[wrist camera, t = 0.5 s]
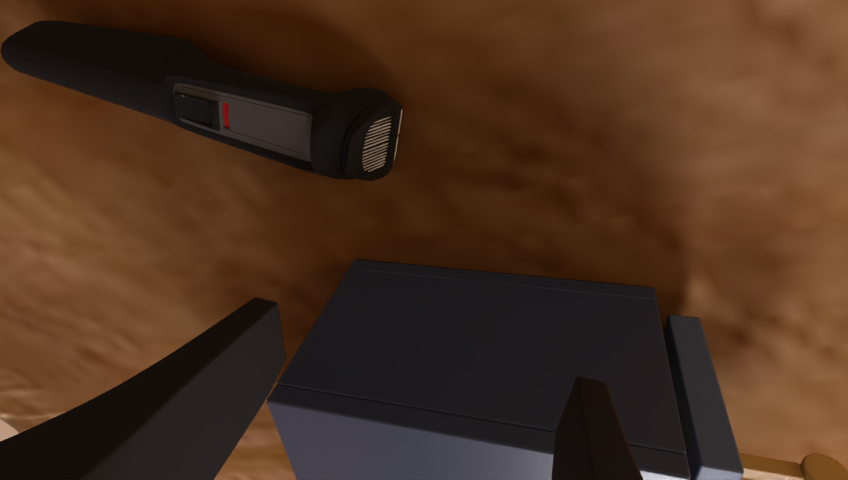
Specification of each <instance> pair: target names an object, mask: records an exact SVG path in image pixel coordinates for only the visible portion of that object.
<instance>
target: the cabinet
mask: <svg viewBox="0 0 848 480" xmlns="http://www.w3.org/2000/svg"><path fill="white" fill-rule="evenodd" d="M577 376H581V377H585V378H589V379H593V380H598V381H602V382H606V384H607V385H608V386H609V389H610V392H611V395H612V398H613V402H614V405H615V408H616V411H617V414H618V416H619V419H620V422H621V425H622V428H623V430H624V433H625V436H626V438H627V441H628V444H629V446H630V449H631V451H632V454H633V456H634V459H635V461H636V463H637V466H638V468H639V470H640V473H641V475H642V477H643V480H690V479H691V475H690V470H689V465H688V460H687V456H686V448H685V443H684V438H683V432H682V427H681V422H680V417H679V412H678V407H677V402H676V396H675V391H674V386H673V381H672V376H671V371H670V366H669V360H668V355H667V350H666V345H665V340H664V335H663V330H662V324H661V319H660V314H659V309H658V304H657V299H656V294H655V289H654V288H652V287H641V286H630V285H620V284H609V283H599V282H588V281H578V280H567V279H557V278H546V277H536V276H525V275H515V274H504V273H494V272H483V271H473V270H462V269H452V268H441V267H431V266H420V265H410V264H399V263H389V262H378V261H368V260H357V259H355V260H354V261H353V263H352V264H351V266H350V267H349V269H348V271H347V272H346V274H345V275H344V277H343V279H342V280H341V282H340V283H339V285H338V287H337V288H336V290H335V291H334V293H333V295H332V296H331V298H330V299H329V301H328V303H327V304H326V306H325V307H324V309H323V311H322V312H321V314H320V315H319V317H318V319H317V320H316V322H315V323H314V325H313V327H312V328H311V330H310V331H309V333H308V335H307V336H306V338H305V339H304V341H303V343H302V344H301V346H300V347H299V349H298V351H297V352H296V354H295V355H294V357H293V359H292V360H291V362H290V363H289V365H288V367H287V368H286V370H285V371H284V373H283V375H282V376H281V378H280V379H279V381H278V383H277V384H278V385H276V386H275V388H274V390H273V391H272V393H271V394H270V396H269V398H268V399H267V404H268V407H269V409H270V412H271V415H272V417H273V420H274V422H275V425H276V427H277V430H278V433H279V435H280V438H281V440H282V443H283V445H284V448H285V451H286V453H287V456H288V458H289V461H290V463H291V466H292V469H293V471H294V474H295V476H296V479H297V480H552V466H553V455H554V445H555V436H556V429H557V426H558V424H559V421H560V419H561V416H562V413H563V411H564V408H565V406H566V403H567V400H568V398H569V395H570V393H571V390H572V388H573V385H574V382H575V380H576V377H577Z"/></svg>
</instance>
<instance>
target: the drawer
mask: <svg viewBox="0 0 848 480" xmlns="http://www.w3.org/2000/svg"><path fill="white" fill-rule="evenodd" d="M663 335H664V340H665V345H666V350H667V355H668V360H669V366H670V371H671V376H672V381H673V386H674V391H675V396H676V402H677V407H678V412H679V417H680V422H681V427H682V432H683V438H684V443H685V448H686V456H687V460H688V465H689V470H690V475H691V479H690V480H741V479H742V477H744V478H749V479H755V480H848V471H847V469H846V468H845V467H844V466H843V465H842V464H840V463H839V462H838V461H836V460H835V459H833V458H831V457H828V456H826V455H822V454H810V455H807V456H806V457H804V459H803V460H802V462H801V464H800V465H799V464H798V463H794V462H788V461H782V460H776V459H770V458H764V457H758V456H752V455H746V454H740V453H739V452H738V449H737V445H736V442H735V438H734V435H733V432H732V428H731V425H730V421H729V418H728V414H727V411H726V407H725V404H724V400H723V397H722V393H721V390H720V386H719V383H718V380H717V376H716V373H715V369H714V366H713V362H712V359H711V355H710V352H709V348H708V345H707V341H706V338H705V335H704V331H703V328H702V324H701V321H700V318H697V317H688V316H679V315H668V318H667V322H666V325H665V329H664V333H663Z"/></svg>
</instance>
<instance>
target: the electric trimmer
mask: <svg viewBox="0 0 848 480" xmlns="http://www.w3.org/2000/svg"><path fill="white" fill-rule="evenodd" d="M1 54H2V57H3V59H4V60H5V61H6V63H7V64H8V65H10V66H11V67H12V68H13V69H15V70H17V71H19V72H21V73H24V74H27V75H30V76H33V77H36V78H39V79H42V80H45V81H48V82H51V83H54V84H57V85H60V86H63V87H66V88H69V89H72V90H75V91H79V92H82V93H85V94H88V95H91V96H94V97H97V98H100V99H103V100H106V101H109V102H112V103H115V104H118V105H121V106H124V107H127V108H130V109H133V110H136V111H139V112H142V113H145V114H148V115H151V116H154V117H157V118H160V119H163V120H166V121H169V122H171V123H173V124H175V125H177V126H179V127H181V128H183V129H185V130H188V131H191V132H194V133H196V134H199V135H202V136H205V137H207V138H210V139H213V140H216V141H219V142H222V143H225V144H228V145H231V146H234V147H236V148H239V149H242V150H245V151H248V152H251V153H254V154H257V155H260V156H263V157H266V158H269V159H272V160H275V161H278V162H281V163H284V164H287V165H289V166H292V167H295V168H298V169H301V170H304V171H308V172H312V173H316V174H320V175H324V176H327V177H331V178H335V179H359V180H366V181H373V180H376V179H379V178H383V177H384V176H386V175H387V174H388V173H389V171H390V170H391V168H392V166H393V163H394V162H393V161H394V160H395V158H394V157H395V155H397V154H396V152H397V151H396V150H397V148H396V147H397V145H396V144H397V142H399V141H398V140H399V138H398V137H399V136H398V134H399V132H400V131H399V130H400V128H399V127H400V125H401V124H400V123H401V121H400V120H401V118H402V117H401V116H402V114H401V113H402V111H403V110H402V109H401V108H402V107H401V104H400V102H397V101H394V100H391V99H388V96H387V93H386V92H385V91H382V90H377V89H369V88H359V89H353V90H348V91H343V92H338V93H330V92H323V91H318V90H313V89H308V88H304V87H301V86H297V85H293V84H289V83H286V82H282V81H278V80H274V79H271V78H267V77H263V76H259V75H256V74H252V73H248V72H244V71H241V70H237V69H233V68H230V67H227V66H225V65H222V64H219V63H216V62H214V61H211V60H208V59H207V58H206V56H205V55H204V54H203V53H202V52H201V51H200V50H199V49H198V48H197V47H196V46H195V45H194V44H193V43H192V42H190V41H188V40H186V39H181V38H175V37H170V36H165V35H158V34H151V33H144V32H136V31H129V30H122V29H115V28H108V27H100V26H93V25H86V24H79V23H71V22H64V21H39V22H35V23H33V24H31V25H30V26H28V27H26V28H24V29H22V30H20V31H18V32H16V33H15V34H13V35H11V36H10V37H8V38H7V39H6V40H5V41H4V42H3V43H2V47H1ZM397 136H398V137H397Z"/></svg>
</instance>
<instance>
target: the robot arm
mask: <svg viewBox="0 0 848 480" xmlns="http://www.w3.org/2000/svg"><path fill="white" fill-rule="evenodd" d="M285 360H286V357H285V350H284V343H283V336H282V329H281V322H280V315H279V308H278V303H276V302H272V301H268V300H264V299H260V298H256V297H255V298H254V299H252V300H251V301H249V302H248V303H246V304H245V305H243V306H242V307H240V308H239V309H237V310H236V311H234V312H233V313H231V314H230V315H228V316H227V317H225V318H224V319H222V320H221V321H220V322H218V323H217V324H215V325H214V326H212V327H211V328H209V329H208V330H206V331H205V332H203V333H202V334H200V335H199V336H197V337H196V338H194V339H193V340H191V341H190V342H188V343H187V344H185V345H184V346H182V347H181V348H179V349H178V350H176V351H174V352H173V353H171V354H170V355H168V356H167V357H165V358H163V359H162V360H160V361H158V362H157V363H155V364H154V365H152V366H150V367H149V368H147V369H145V370H144V371H142V372H140V373H139V374H137V375H135V376H134V377H132V378H130V379H129V380H127V381H125V382H123V383H122V384H120V385H118V386H116V387H114V388H113V389H111V390H109V391H107V392H105V393H103V394H101V395H99V396H97V397H96V398H94V399H92V400H90V401H88V402H86V403H84V404H82V405H80V406H78V407H76V408H74V409H72V410H70V411H68V412H66V413H63V414H61V415H59V416H57V417H55V418H52V419H50V420H48V421H46V422H44V423H42V424H39V425H37V426H35V427H33V428H31V429H28V430H26V431H24V432H22V433H20V434H17V435H15V436H13V437H10V438H8V439H5V440H3V441H1V442H0V480H214V479H215V477H216V475H217V474H218V472H219V471H220V469H221V468H222V466H223V465H224V463H225V462H226V460H227V459H228V457H229V456H230V454H231V452H232V451H233V449H234V448H235V446H236V445H237V443H238V442H239V440H240V439H241V437H242V436H243V434H244V433H245V431H246V429H247V428H248V426H249V425H250V423H251V422H252V420H253V419H254V417H255V416H256V414H257V412H258V411H259V409H260V408H261V406H262V405H263V403H264V401H265V400H266V398H267V397H268V395H269V393H270V391H271V389H272V387H273V385H274V383H275V381H276V379H277V377H278V375H279V372H280V370H281V368H282V366H283V364H284V362H285ZM552 480H643V477H642V475H641V473H640V470H639V468H638V466H637V463H636V461H635V459H634V456H633V454H632V451H631V449H630V446H629V444H628V441H627V438H626V436H625V433H624V430H623V428H622V425H621V422H620V419H619V416H618V414H617V411H616V408H615V405H614V402H613V398H612V395H611V392H610V389H609V386H608V385H607V384H606V382H602V381H598V380H593V379H589V378H585V377H581V376H577V377H576V380H575V382H574V385H573V388H572V390H571V393H570V395H569V398H568V400H567V403H566V406H565V408H564V411H563V413H562V416H561V419H560V421H559V424H558V426H557V429H556V436H555V445H554V455H553V466H552Z"/></svg>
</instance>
